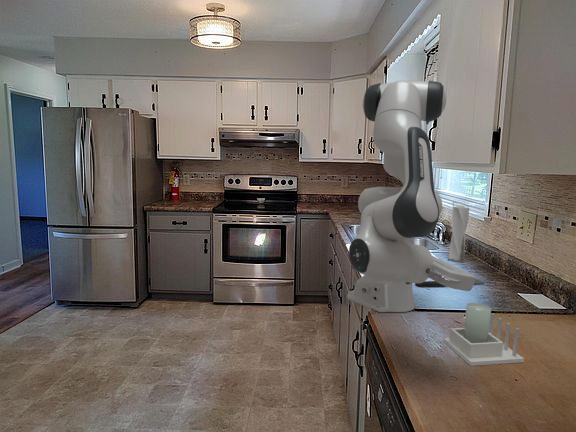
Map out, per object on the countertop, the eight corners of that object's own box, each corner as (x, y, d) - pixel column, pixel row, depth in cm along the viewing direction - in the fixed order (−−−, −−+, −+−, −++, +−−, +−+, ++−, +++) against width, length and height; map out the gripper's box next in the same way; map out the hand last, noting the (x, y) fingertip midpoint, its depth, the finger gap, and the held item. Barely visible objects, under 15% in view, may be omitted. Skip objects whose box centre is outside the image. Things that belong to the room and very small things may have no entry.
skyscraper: (444, 259, 187) (449, 202, 182) (450, 256, 193) (455, 200, 188) (462, 263, 181) (468, 203, 177) (467, 259, 187) (473, 202, 183)
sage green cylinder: (459, 348, 98) (463, 307, 96) (466, 341, 102) (470, 301, 100) (483, 356, 94) (487, 313, 92) (489, 348, 98) (493, 307, 96)
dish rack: (470, 365, 91) (473, 334, 90) (443, 341, 103) (445, 313, 102) (523, 362, 93) (527, 331, 92) (490, 339, 105) (493, 311, 104)
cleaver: (421, 290, 144) (422, 284, 144) (407, 281, 153) (407, 276, 153) (487, 285, 152) (487, 280, 151) (469, 278, 161) (470, 273, 161)
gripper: (452, 267, 79) (496, 274, 85) (389, 237, 97) (429, 245, 103) (442, 295, 80) (486, 300, 86) (382, 261, 98) (422, 267, 104)
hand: (455, 270), depth 94 cm, fingers open, 8 cm apart
